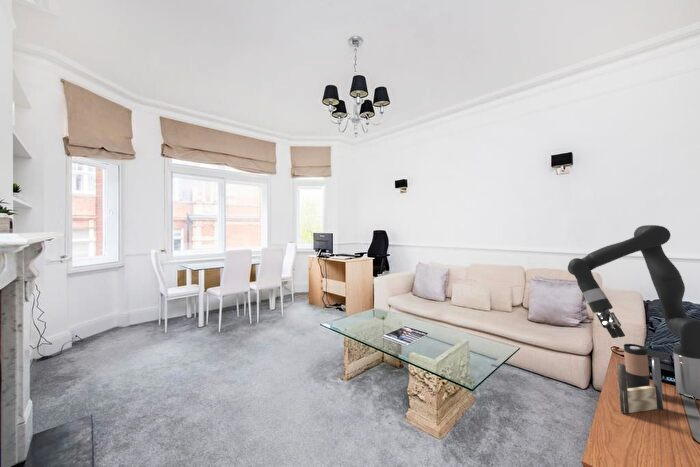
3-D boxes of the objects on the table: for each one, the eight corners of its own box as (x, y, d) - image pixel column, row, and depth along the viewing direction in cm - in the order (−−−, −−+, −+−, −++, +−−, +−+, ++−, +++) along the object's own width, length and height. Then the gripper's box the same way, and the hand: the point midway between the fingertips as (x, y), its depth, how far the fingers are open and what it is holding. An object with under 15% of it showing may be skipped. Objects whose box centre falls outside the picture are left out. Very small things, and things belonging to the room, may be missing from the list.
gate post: (658, 406, 119) (654, 356, 119) (665, 409, 116) (661, 359, 117) (653, 407, 118) (649, 357, 119) (660, 410, 116) (656, 359, 116)
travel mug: (640, 387, 133) (636, 343, 134) (656, 396, 126) (652, 349, 126) (622, 387, 134) (618, 343, 135) (636, 396, 127) (633, 349, 127)
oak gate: (651, 406, 118) (647, 360, 119) (658, 409, 116) (654, 362, 116) (619, 410, 116) (615, 364, 117) (625, 414, 114) (621, 366, 114)
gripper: (600, 297, 125) (624, 336, 117) (612, 297, 133) (634, 334, 125) (581, 302, 130) (603, 340, 122) (593, 303, 138) (614, 338, 130)
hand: (619, 337), depth 124 cm, fingers open, 8 cm apart
